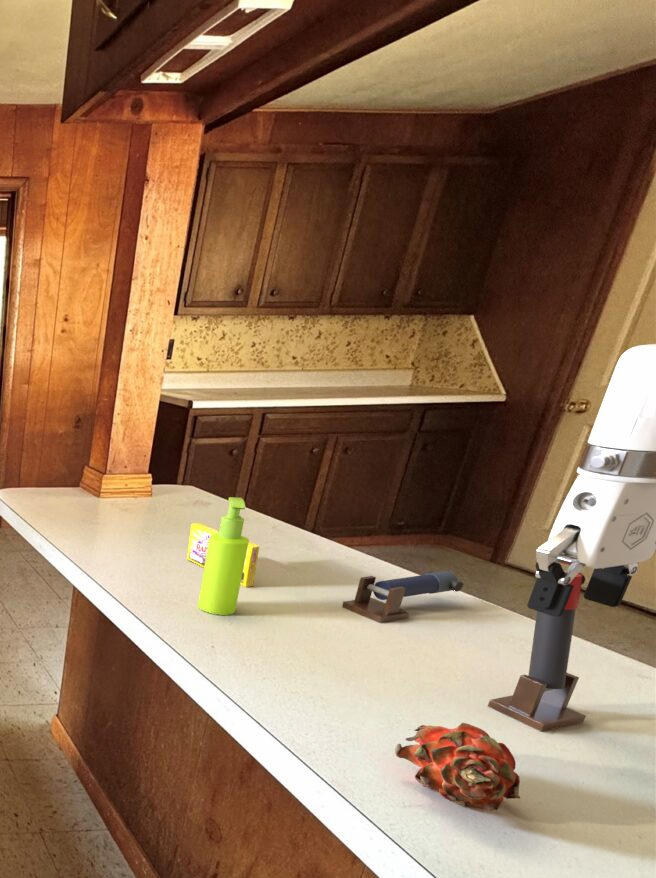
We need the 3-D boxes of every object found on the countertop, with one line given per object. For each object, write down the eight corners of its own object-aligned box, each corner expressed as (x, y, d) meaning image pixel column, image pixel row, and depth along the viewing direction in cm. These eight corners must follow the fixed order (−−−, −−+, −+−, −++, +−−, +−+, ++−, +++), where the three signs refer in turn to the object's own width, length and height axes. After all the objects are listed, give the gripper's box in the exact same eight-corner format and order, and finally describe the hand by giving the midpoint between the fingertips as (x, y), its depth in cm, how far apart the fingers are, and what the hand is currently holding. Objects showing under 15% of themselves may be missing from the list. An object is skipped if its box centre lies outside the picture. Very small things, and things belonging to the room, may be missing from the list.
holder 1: (369, 602, 117) (377, 573, 115) (408, 618, 111) (417, 587, 109) (341, 606, 116) (349, 577, 114) (379, 622, 109) (388, 592, 107)
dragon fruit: (477, 846, 66) (404, 784, 77) (570, 808, 63) (480, 749, 75) (433, 779, 65) (366, 727, 77) (525, 738, 63) (442, 690, 74)
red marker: (527, 574, 81) (563, 579, 77) (559, 569, 82) (595, 574, 78) (512, 689, 84) (546, 698, 80) (543, 682, 85) (578, 692, 81)
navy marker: (429, 585, 118) (434, 566, 116) (460, 595, 113) (466, 576, 112) (361, 595, 115) (366, 576, 113) (390, 606, 110) (395, 587, 109)
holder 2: (487, 706, 86) (500, 669, 84) (527, 697, 87) (542, 661, 85) (541, 731, 80) (557, 692, 78) (583, 722, 82) (600, 683, 80)
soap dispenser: (199, 615, 114) (218, 503, 107) (196, 600, 120) (215, 493, 113) (237, 619, 112) (260, 505, 105) (232, 604, 118) (254, 495, 111)
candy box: (184, 560, 140) (190, 523, 137) (193, 559, 140) (199, 522, 137) (244, 587, 125) (252, 546, 122) (253, 586, 126) (262, 545, 122)
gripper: (615, 476, 67) (555, 630, 74) (734, 463, 71) (666, 610, 77) (530, 463, 74) (481, 604, 81) (642, 451, 78) (587, 587, 84)
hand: (572, 606), depth 79 cm, fingers open, 8 cm apart
